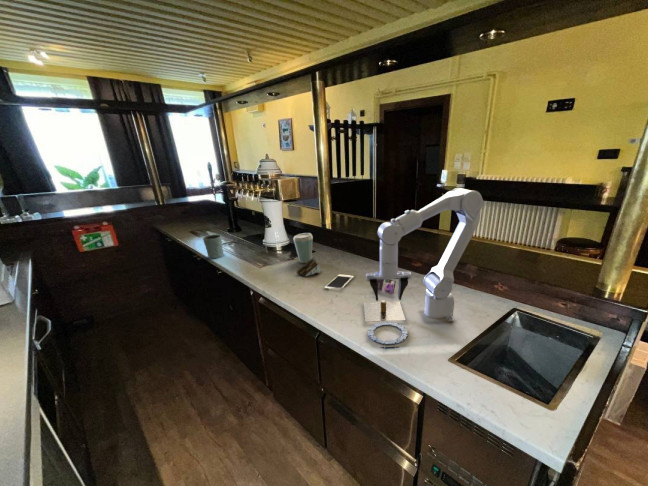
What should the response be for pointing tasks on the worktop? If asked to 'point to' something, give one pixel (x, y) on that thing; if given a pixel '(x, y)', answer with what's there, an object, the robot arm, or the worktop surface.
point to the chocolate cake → (309, 268)
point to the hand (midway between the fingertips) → (388, 299)
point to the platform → (384, 316)
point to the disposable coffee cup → (304, 246)
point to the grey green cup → (213, 246)
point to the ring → (389, 342)
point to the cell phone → (339, 281)
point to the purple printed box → (388, 286)
